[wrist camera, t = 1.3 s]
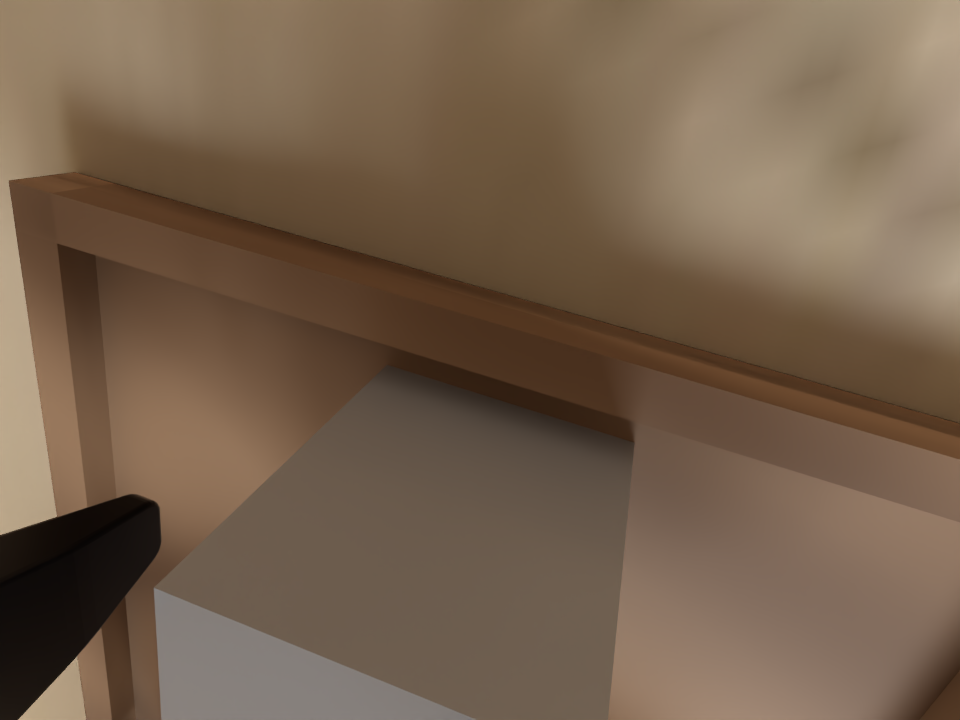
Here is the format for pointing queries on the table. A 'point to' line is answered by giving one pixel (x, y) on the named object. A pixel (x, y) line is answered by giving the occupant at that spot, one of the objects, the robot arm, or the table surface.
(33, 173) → the table surface
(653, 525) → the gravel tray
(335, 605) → the grey cube block
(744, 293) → the table surface
